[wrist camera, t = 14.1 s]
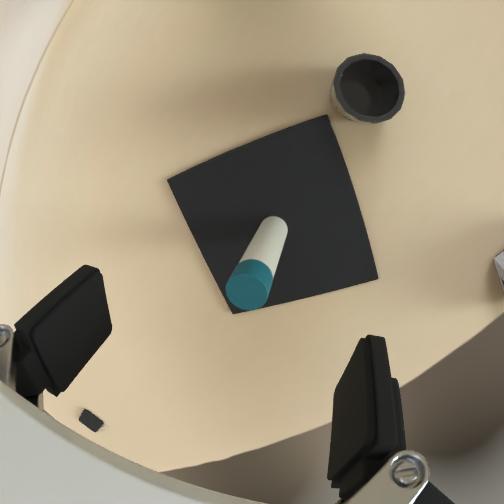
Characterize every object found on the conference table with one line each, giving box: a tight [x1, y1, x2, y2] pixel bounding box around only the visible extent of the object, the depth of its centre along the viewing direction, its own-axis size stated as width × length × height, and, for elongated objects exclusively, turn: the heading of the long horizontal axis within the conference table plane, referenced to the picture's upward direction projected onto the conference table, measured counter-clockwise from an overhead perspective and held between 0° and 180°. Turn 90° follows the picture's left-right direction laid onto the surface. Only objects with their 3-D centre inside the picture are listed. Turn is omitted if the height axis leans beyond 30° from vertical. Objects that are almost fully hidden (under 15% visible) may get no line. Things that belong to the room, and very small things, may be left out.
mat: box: [167, 115, 378, 314], centre depth 35 cm, size 20×20×1 cm
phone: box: [79, 410, 103, 432], centre depth 76 cm, size 7×1×15 cm
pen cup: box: [331, 53, 405, 123], centre depth 23 cm, size 6×6×8 cm
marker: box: [226, 216, 288, 310], centre depth 29 cm, size 3×3×14 cm
